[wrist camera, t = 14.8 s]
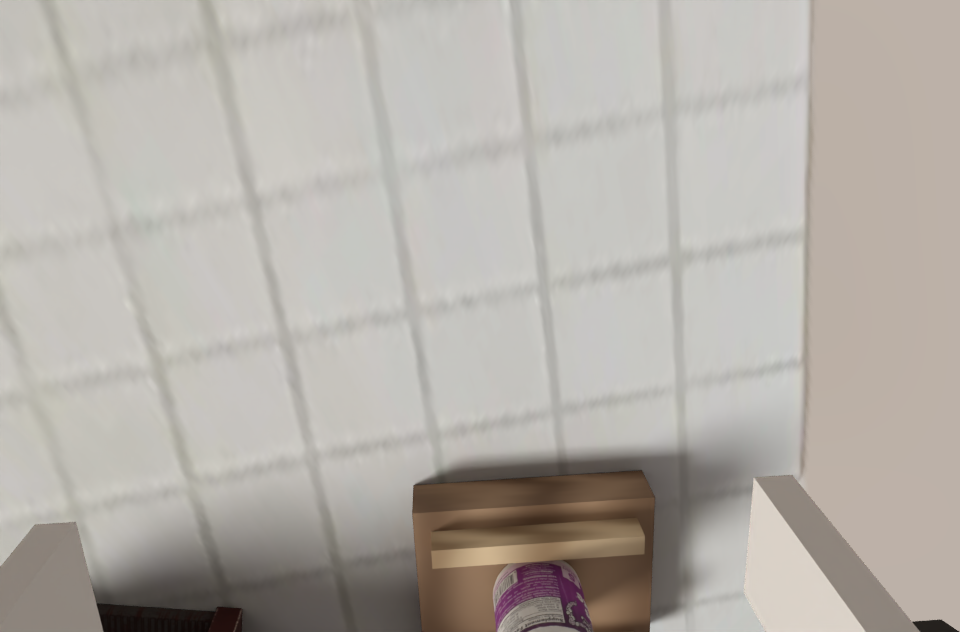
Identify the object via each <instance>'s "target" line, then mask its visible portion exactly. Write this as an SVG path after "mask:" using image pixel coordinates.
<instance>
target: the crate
mask: <svg viewBox="0 0 960 632" xmlns="http://www.w3.org/2000/svg"><path fill="white" fill-rule="evenodd" d="M97 608H98V612H99V616H100V620H101V624H102V628H103V632H242V609H241V608H228V607H217V609H216V612H210V611H196V610H181V609H167V608H153V607H139V606H124V605H110V604H97Z"/></svg>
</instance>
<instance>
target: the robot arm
mask: <svg viewBox="0 0 960 632" xmlns="http://www.w3.org/2000/svg"><path fill="white" fill-rule="evenodd" d="M744 594H745V596H746V598H747V599H748V601H749V603H750V605H751V606H752V608H753V610H754V612H755V614H756V615H757V617H758V619H759V621H760V623H761V624H762V626H763V628H764V630H765V632H959V631H957V630H956V629H954V628H953V627H951V626H950V625H948V624H947V623H945V622H944V621H942V620H930V621H916V622H911V620H910V619H909V618H908V616H907V615H906V614H905V613H904V612H903V610H902V609H901V608H900V607H899V606H898V604H897V603H896V602H895V600H894V599H893V598H892V597H891V596H890V594H889V593H888V592H887V591H886V590H885V588H884V587H883V586H882V585H881V583H880V582H879V581H878V580H877V578H876V577H875V576H874V575H873V574H872V572H871V571H870V570H869V569H868V568H867V566H866V565H865V564H864V562H863V561H862V560H861V559H860V558H859V556H857V554H856V553H855V552H854V550H853V549H852V548H851V547H850V545H849V544H848V543H847V542H846V540H845V539H844V538H843V537H842V536H841V534H840V533H839V532H838V531H837V529H836V528H835V527H834V526H833V525H832V523H831V522H830V521H829V520H828V518H827V517H826V516H825V515H824V513H823V512H822V511H821V510H820V509H819V507H818V506H817V505H816V504H815V502H814V501H813V500H812V499H811V498H810V496H809V495H808V494H807V493H806V491H805V490H804V489H803V488H802V487H801V485H800V484H799V483H798V482H797V480H796V479H795V478H794V477H793V475H784V476H769V477H754V482H753V493H752V504H751V516H750V527H749V538H748V550H747V561H746V572H745V583H744ZM0 632H103V628H102V624H101V620H100V616H99V612H98V608H97V604H96V600H95V596H94V592H93V588H92V584H91V580H90V576H89V572H88V568H87V564H86V560H85V556H84V552H83V548H82V544H81V540H80V536H79V532H78V528H77V524H76V522H68V523H53V524H38V525H34V526H33V528H32V529H31V530H30V531H29V533H28V534H27V535H26V536H25V538H24V539H23V540H22V541H21V542H20V544H19V545H18V546H17V547H16V549H15V550H14V551H13V552H12V553H11V555H10V556H9V557H8V558H7V560H6V561H5V562H4V563H3V565H2V566H1V567H0Z"/></svg>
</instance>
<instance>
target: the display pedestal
mask: <svg viewBox="0 0 960 632" xmlns="http://www.w3.org/2000/svg"><path fill="white" fill-rule="evenodd" d="M654 508H655V497H654V494H653V492H652V490H651V488H650V486H649V484H648V482H647V480H646V478H645V476H644V474H643V472H642V470H641V471H626V472H610V473H595V474H580V475H564V476H549V477H534V478H518V479H503V480H487V481H472V482H457V483H441V484H426V485H414V488H413V510H412V515H413V528H414V540H415V552H416V565H417V577H418V589H419V602H420V614H421V626H422V632H496V622H495V613H494V603H493V588H494V585H495V582H496V579H497V577H498V575H499V574H500V572H501V571H502V570H503V569H504V568H505V567H506V566H507V565H508V564H510V563H525V562H539V561H553V560H563V561H565V562H566V563H568V564H569V565H570V566H571V567H572V568H573V569H574V570H575V572H576V574H577V576H578V578H579V580H580V583H581V587H582V590H583V593H584V598H585V601H586V605H587V608H588V612H589V615H590V619H591V623H592V627H593V630H594V632H650V607H651V582H652V558H653V533H654Z"/></svg>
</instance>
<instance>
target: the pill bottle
mask: <svg viewBox="0 0 960 632" xmlns="http://www.w3.org/2000/svg"><path fill="white" fill-rule="evenodd" d="M493 603H494V613H495V622H496V632H594V630H593V627H592V623H591V619H590V615H589V612H588V608H587V605H586V601H585V598H584V593H583V590H582V587H581V583H580V580H579V578H578V576H577V574H576V572H575V570H574V569H573V568H572V567H571V566H570V565H569V564H568V563H566V562H565V561H563V560H553V561H539V562H525V563H510V564H508V565H507V566H506V567H505V568H504V569H503V570H502V571H501V572H500V574H499V575H498V577H497V579H496V582H495V585H494V588H493Z"/></svg>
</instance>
